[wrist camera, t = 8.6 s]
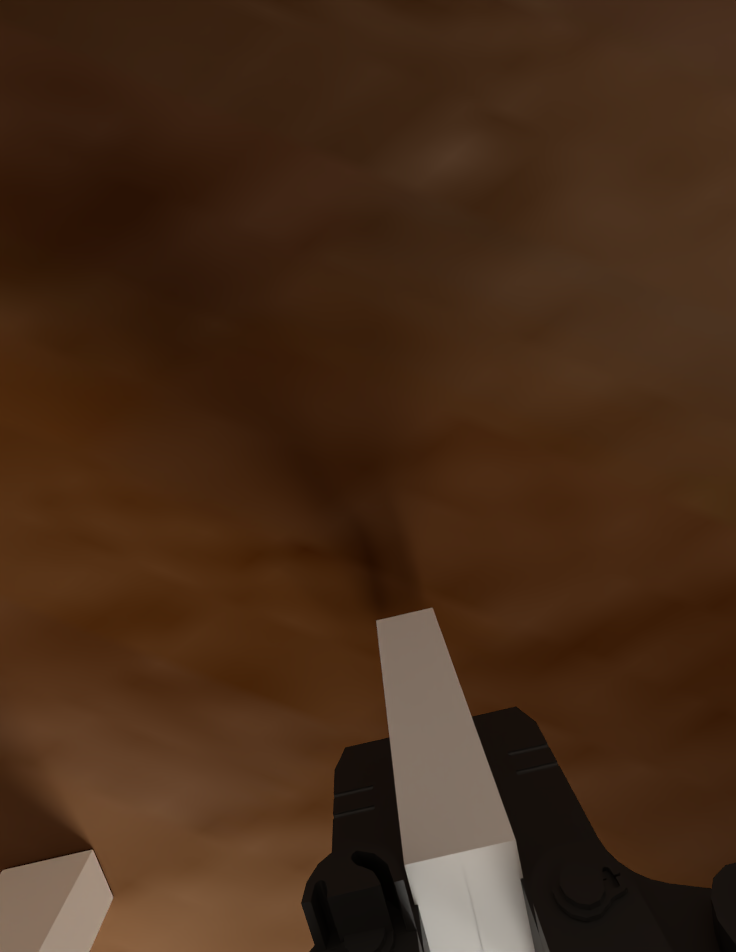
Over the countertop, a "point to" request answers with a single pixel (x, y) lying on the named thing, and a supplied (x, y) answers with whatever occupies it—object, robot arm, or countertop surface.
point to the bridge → (53, 904)
